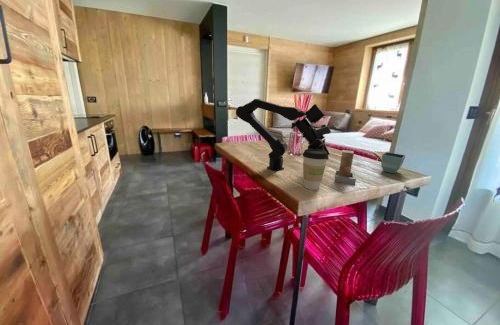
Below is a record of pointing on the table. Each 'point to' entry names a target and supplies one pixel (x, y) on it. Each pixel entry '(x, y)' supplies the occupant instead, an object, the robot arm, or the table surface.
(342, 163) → the wooden block
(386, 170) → the flower pot
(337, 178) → the u-shaped bracket
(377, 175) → the table surface
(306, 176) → the coffee cup
